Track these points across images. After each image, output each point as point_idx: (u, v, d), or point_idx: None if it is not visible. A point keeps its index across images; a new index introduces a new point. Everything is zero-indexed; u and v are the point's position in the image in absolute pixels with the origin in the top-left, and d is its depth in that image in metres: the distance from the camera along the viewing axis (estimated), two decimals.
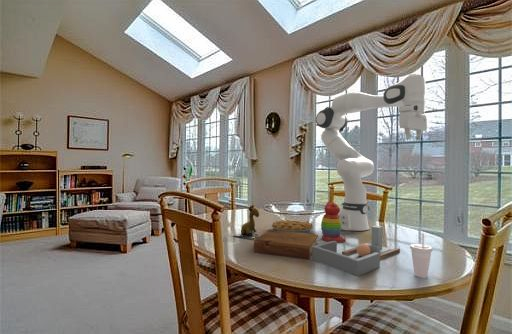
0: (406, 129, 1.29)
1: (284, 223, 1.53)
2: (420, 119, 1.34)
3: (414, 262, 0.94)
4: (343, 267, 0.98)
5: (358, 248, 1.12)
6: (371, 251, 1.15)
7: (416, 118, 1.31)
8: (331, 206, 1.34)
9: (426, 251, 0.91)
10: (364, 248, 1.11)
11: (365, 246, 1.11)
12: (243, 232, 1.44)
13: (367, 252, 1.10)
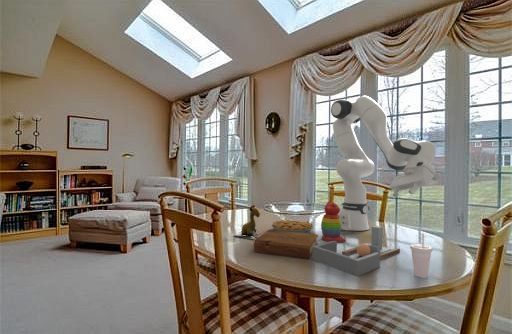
0: (418, 184, 1.19)
1: (284, 223, 1.53)
2: None
3: (414, 262, 0.94)
4: (343, 267, 0.98)
5: (358, 248, 1.12)
6: (371, 251, 1.15)
7: None
8: (331, 206, 1.34)
9: (426, 251, 0.91)
10: (364, 248, 1.11)
11: (365, 246, 1.11)
12: (244, 232, 1.44)
13: (367, 252, 1.10)
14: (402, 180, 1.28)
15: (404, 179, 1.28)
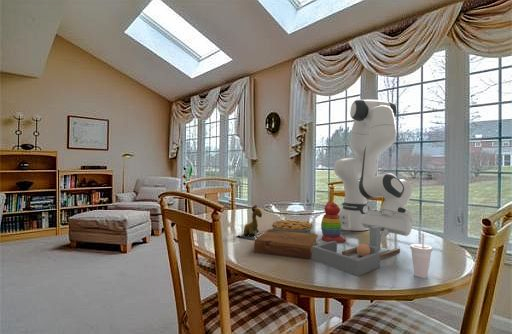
0: (388, 231, 1.18)
1: (284, 223, 1.53)
2: None
3: (414, 262, 0.94)
4: (343, 267, 0.98)
5: (358, 248, 1.12)
6: None
7: None
8: (331, 206, 1.34)
9: (426, 251, 0.91)
10: (364, 248, 1.11)
11: (365, 246, 1.11)
12: (246, 232, 1.44)
13: (367, 252, 1.10)
14: (378, 220, 1.22)
15: (380, 220, 1.22)
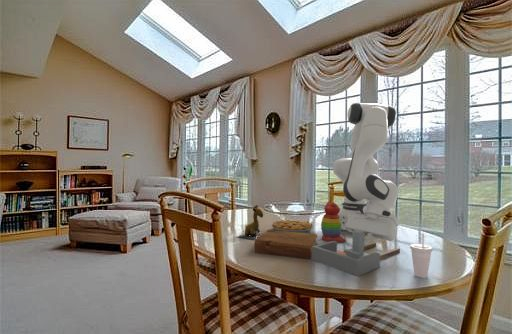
0: (371, 236, 1.11)
1: (284, 223, 1.53)
2: None
3: (414, 262, 0.94)
4: (343, 267, 0.98)
5: None
6: None
7: None
8: (331, 206, 1.34)
9: (426, 251, 0.91)
10: (342, 253, 1.02)
11: (343, 253, 1.03)
12: (247, 233, 1.43)
13: None
14: (362, 224, 1.16)
15: (364, 224, 1.15)
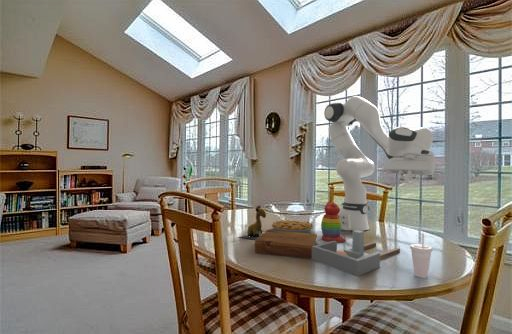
0: (411, 172, 1.21)
1: (284, 223, 1.53)
2: None
3: (414, 262, 0.94)
4: (343, 267, 0.98)
5: (336, 252, 1.04)
6: None
7: None
8: (331, 206, 1.34)
9: (426, 251, 0.91)
10: (343, 253, 1.03)
11: None
12: (250, 233, 1.43)
13: None
14: (401, 164, 1.26)
15: (404, 164, 1.25)
